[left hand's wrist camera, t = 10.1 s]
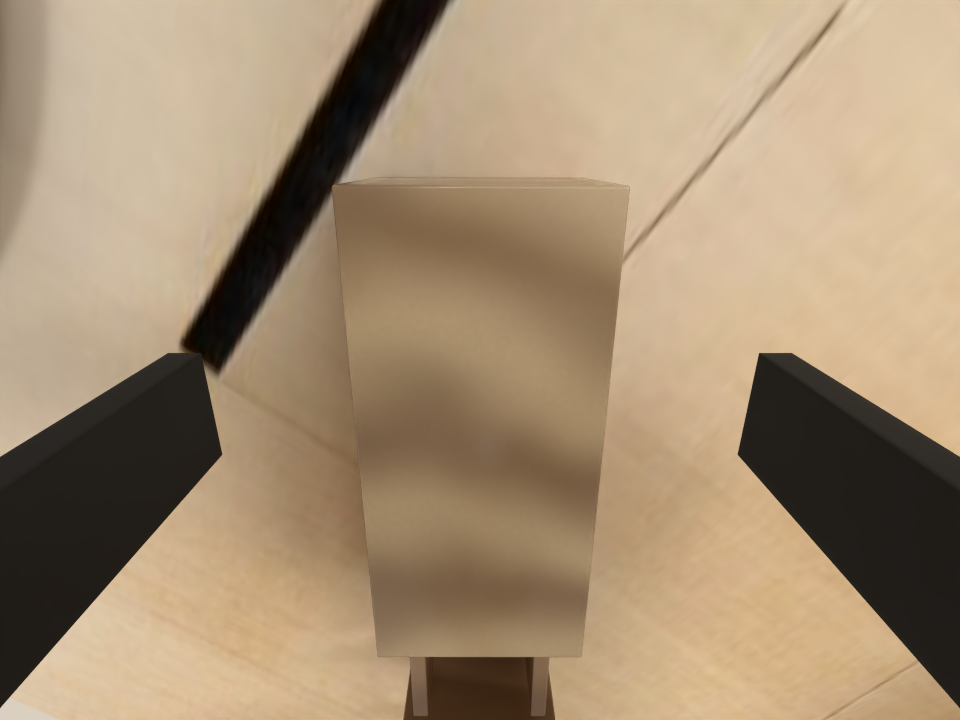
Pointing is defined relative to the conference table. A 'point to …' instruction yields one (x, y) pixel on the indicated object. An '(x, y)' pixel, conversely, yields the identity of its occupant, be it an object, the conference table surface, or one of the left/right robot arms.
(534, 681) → the drawer
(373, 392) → the cabinet
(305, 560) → the conference table surface
